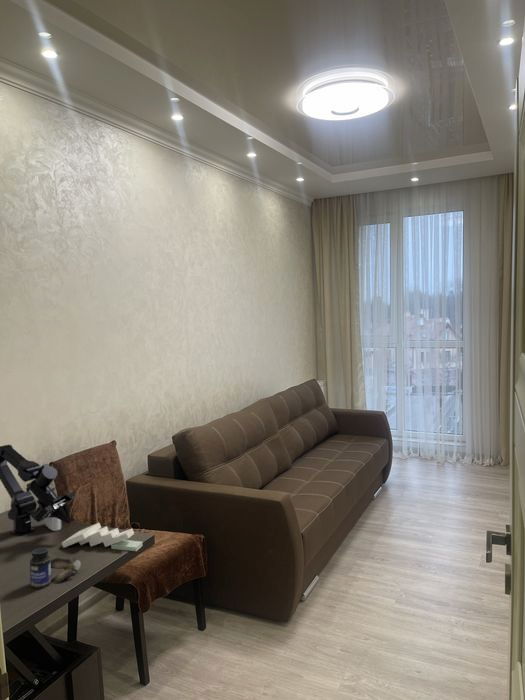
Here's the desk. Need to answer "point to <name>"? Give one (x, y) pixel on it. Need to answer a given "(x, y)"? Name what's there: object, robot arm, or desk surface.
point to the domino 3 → (105, 537)
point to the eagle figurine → (66, 565)
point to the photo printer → (53, 523)
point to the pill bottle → (40, 568)
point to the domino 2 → (95, 535)
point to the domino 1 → (81, 535)
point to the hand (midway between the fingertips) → (70, 523)
